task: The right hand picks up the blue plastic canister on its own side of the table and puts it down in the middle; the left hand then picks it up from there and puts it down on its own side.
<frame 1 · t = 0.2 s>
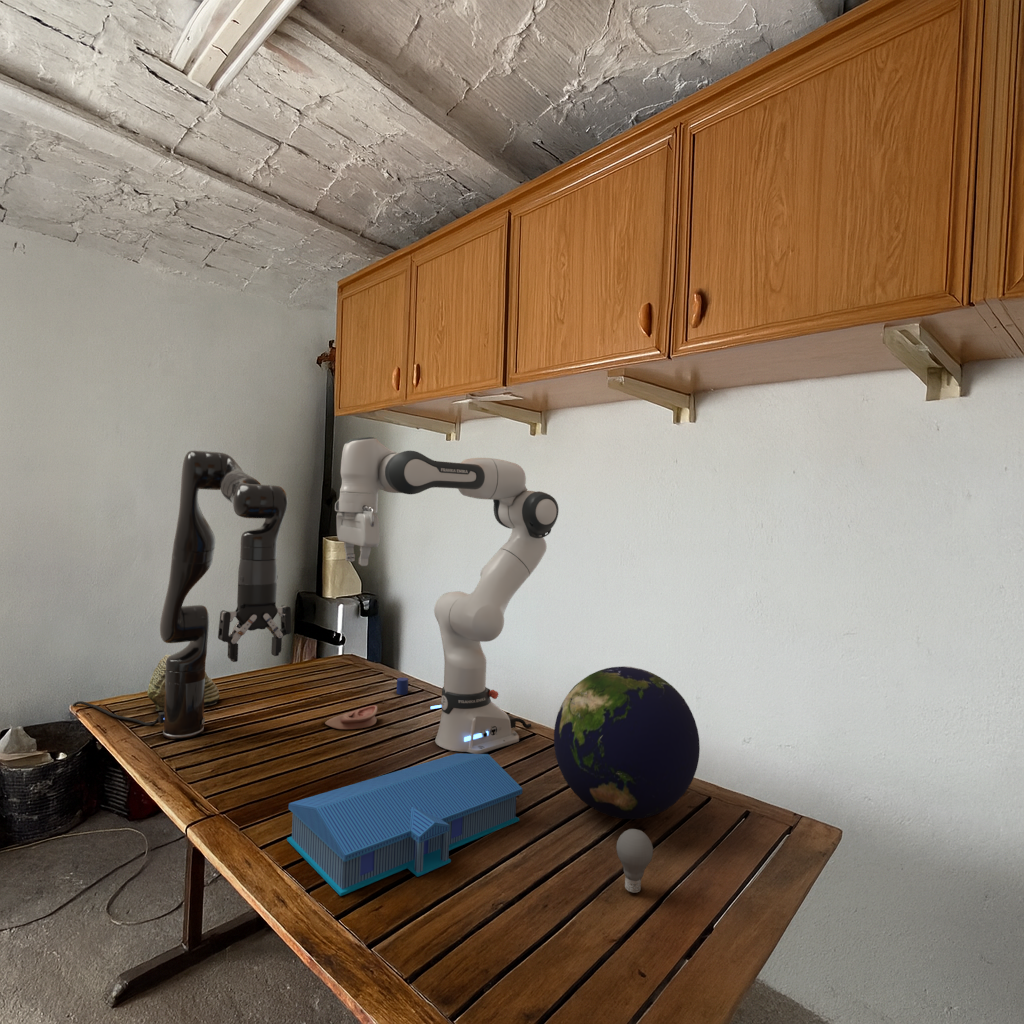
left hand: (254, 658, 132), 29 cm above the table, tool pointing down, fingers open, 8 cm apart
right hand: (356, 563, 150), 48 cm above the table, tool pointing down, fingers open, 8 cm apart
light bulb: (632, 891, 106), on the table
model building: (412, 834, 121), on the table
globe: (621, 811, 133), on the table
anatomical model: (351, 723, 177), on the table
fossil: (183, 706, 185), on the table
canister: (402, 693, 206), on the table
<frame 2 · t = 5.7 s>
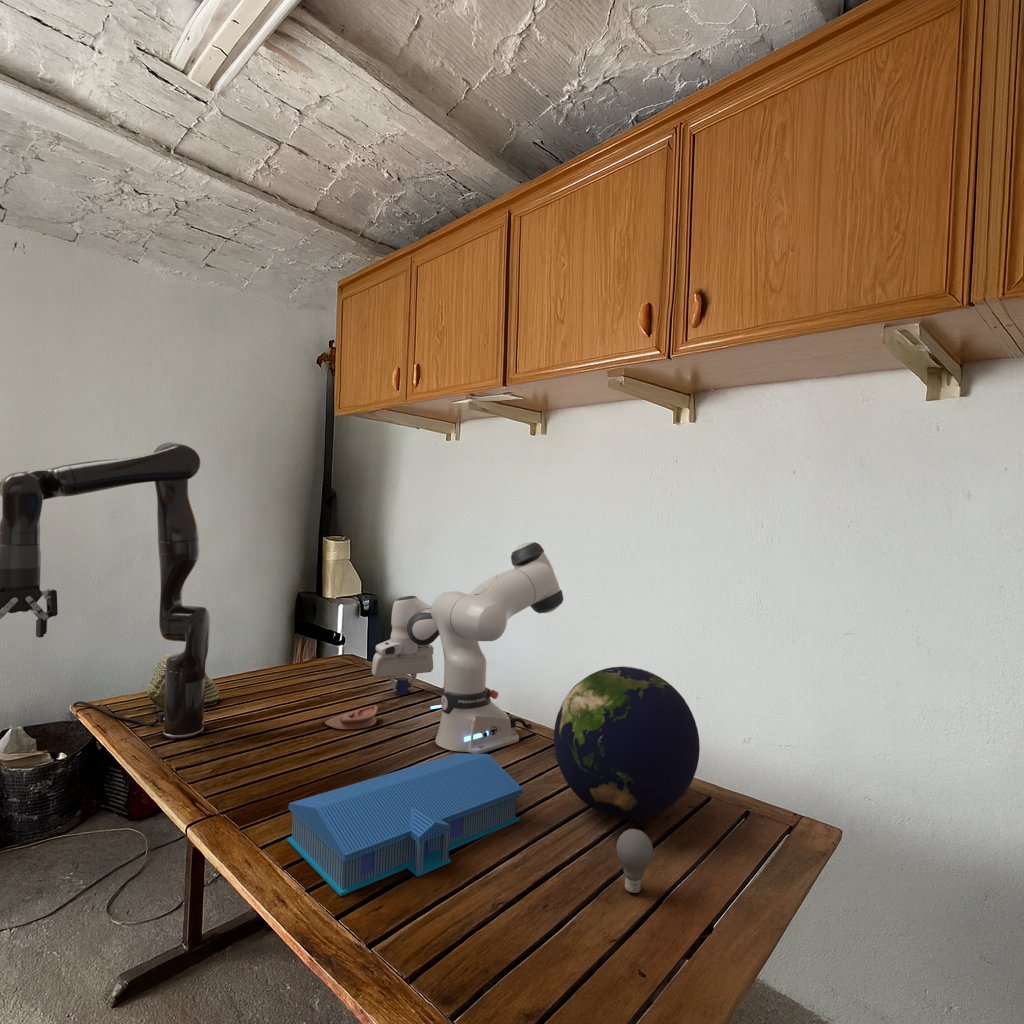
left hand: (16, 639, 137), 30 cm above the table, tool pointing down, fingers open, 8 cm apart
right hand: (402, 687, 206), 2 cm above the table, tool pointing down, fingers closed on canister, 4 cm apart
canister: (402, 693, 206), on the table, touching right hand
everything else where it was.
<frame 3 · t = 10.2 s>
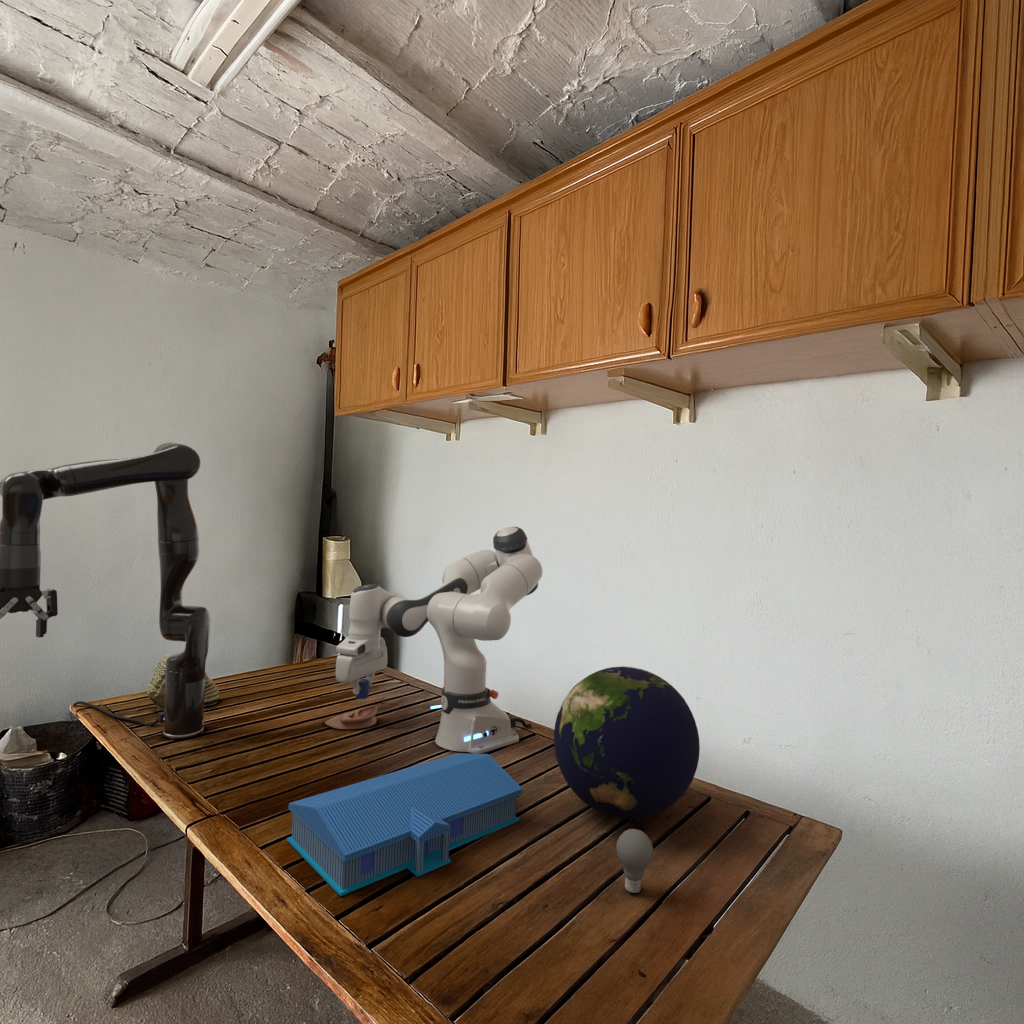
left hand: (16, 639, 137), 30 cm above the table, tool pointing down, fingers open, 8 cm apart
right hand: (362, 691, 179), 9 cm above the table, tool pointing down, fingers closed on canister, 4 cm apart
canister: (361, 697, 179), point 7 cm above the table, touching right hand
everything else where it was.
when the right hand's fingers open (3 cm above the table, at t = 15.1 s): canister stays where it is, on the table.
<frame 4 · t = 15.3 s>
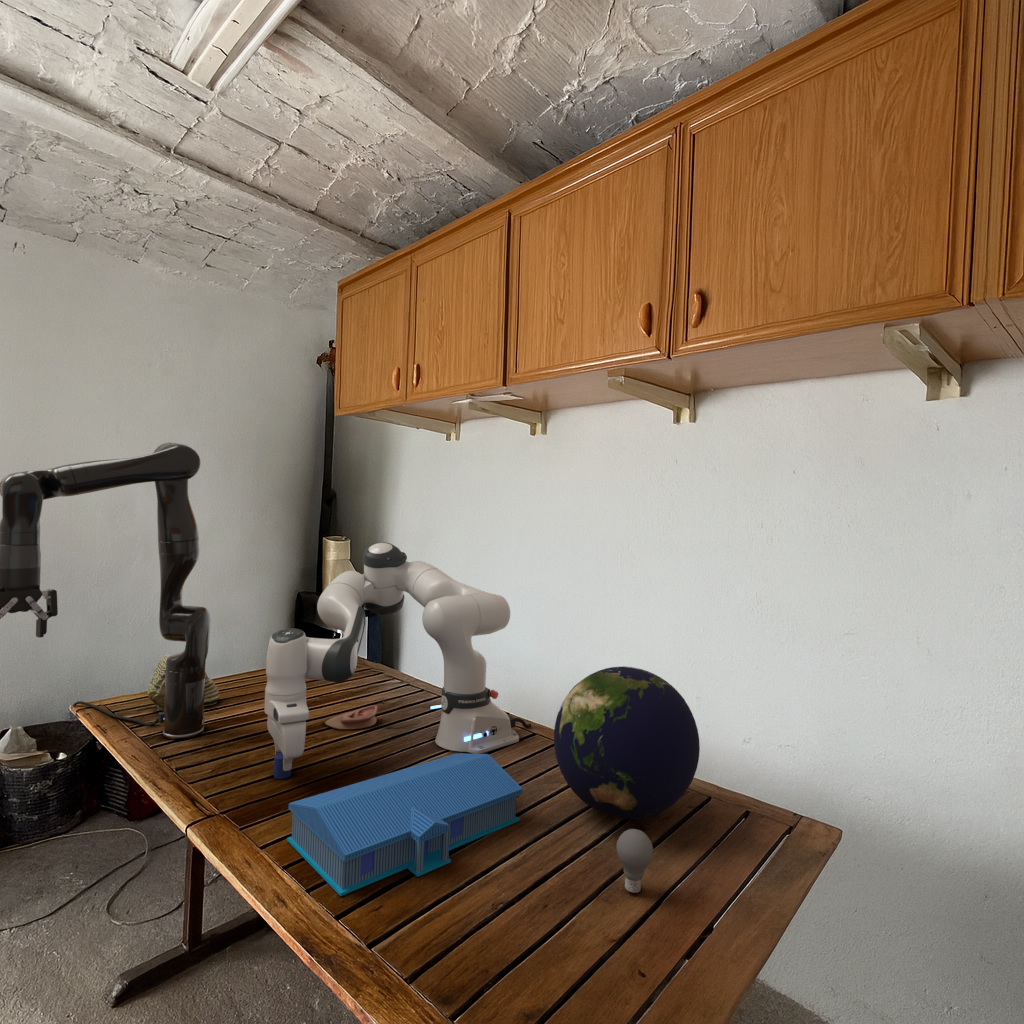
left hand: (16, 639, 137), 30 cm above the table, tool pointing down, fingers open, 8 cm apart
right hand: (283, 763, 143), 3 cm above the table, tool pointing down, fingers open, 5 cm apart
canister: (282, 775, 143), on the table
everything else where it was.
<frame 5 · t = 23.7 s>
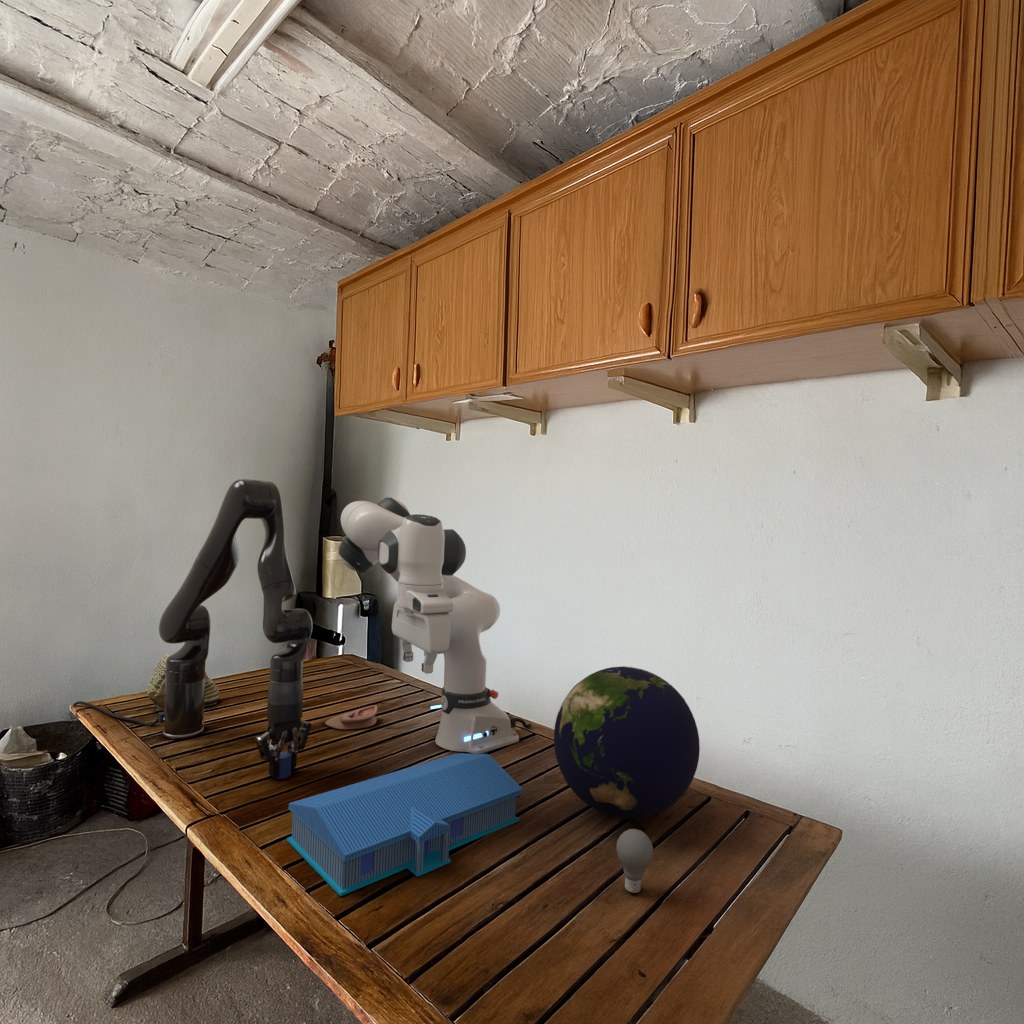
left hand: (282, 773, 143), 1 cm above the table, tool pointing down, fingers closed on canister, 3 cm apart
right hand: (417, 666, 126), 31 cm above the table, tool pointing down, fingers open, 8 cm apart
canister: (282, 775, 143), on the table, touching left hand
everything else where it was.
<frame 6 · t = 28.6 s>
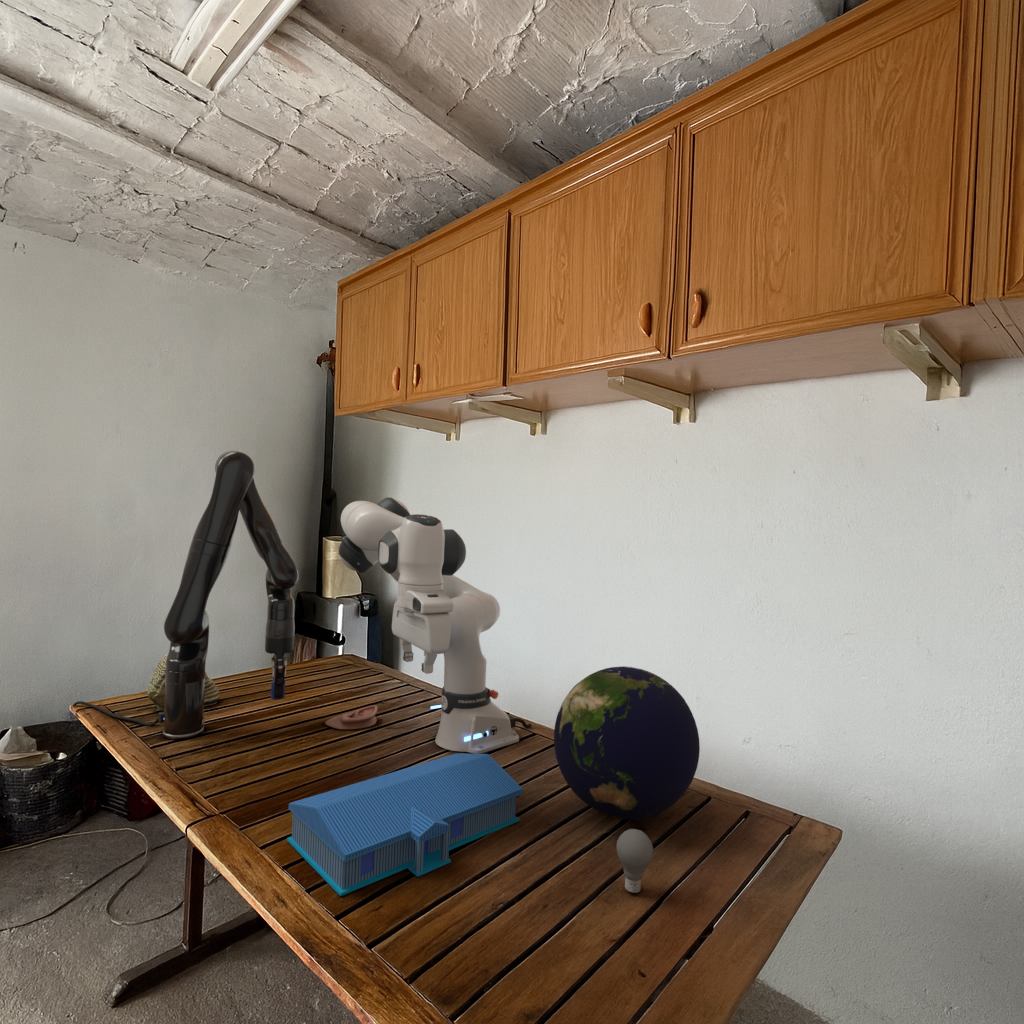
left hand: (277, 695, 175), 8 cm above the table, tool pointing down, fingers closed on canister, 3 cm apart
right hand: (417, 666, 126), 31 cm above the table, tool pointing down, fingers open, 8 cm apart
canister: (277, 697, 175), point 7 cm above the table, touching left hand
everything else where it was.
when the left hand's fingers open (1 cm above the table, at t = 33.5 s): canister stays where it is, on the table.
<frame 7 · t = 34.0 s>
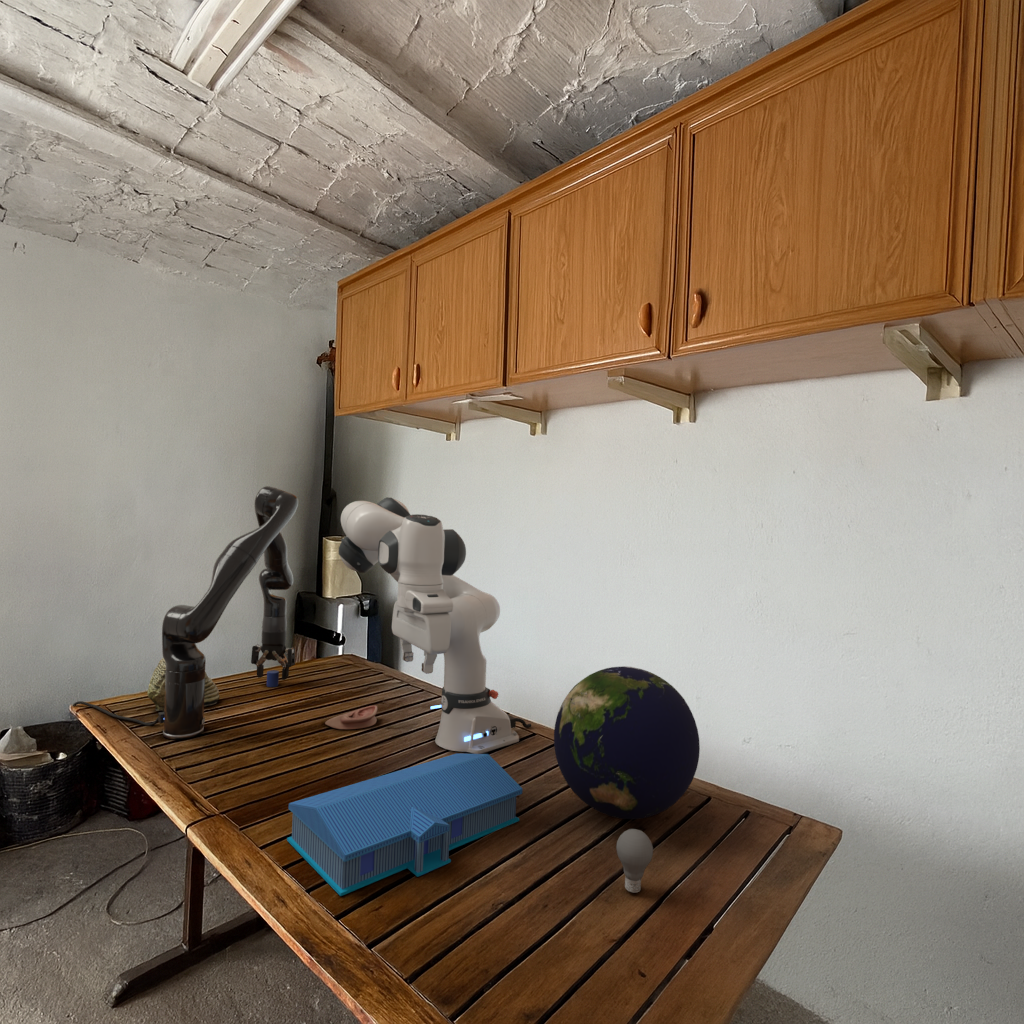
left hand: (272, 678, 208), 2 cm above the table, tool pointing down, fingers open, 8 cm apart
right hand: (417, 666, 126), 31 cm above the table, tool pointing down, fingers open, 8 cm apart
canister: (272, 685, 208), on the table
everything else where it was.
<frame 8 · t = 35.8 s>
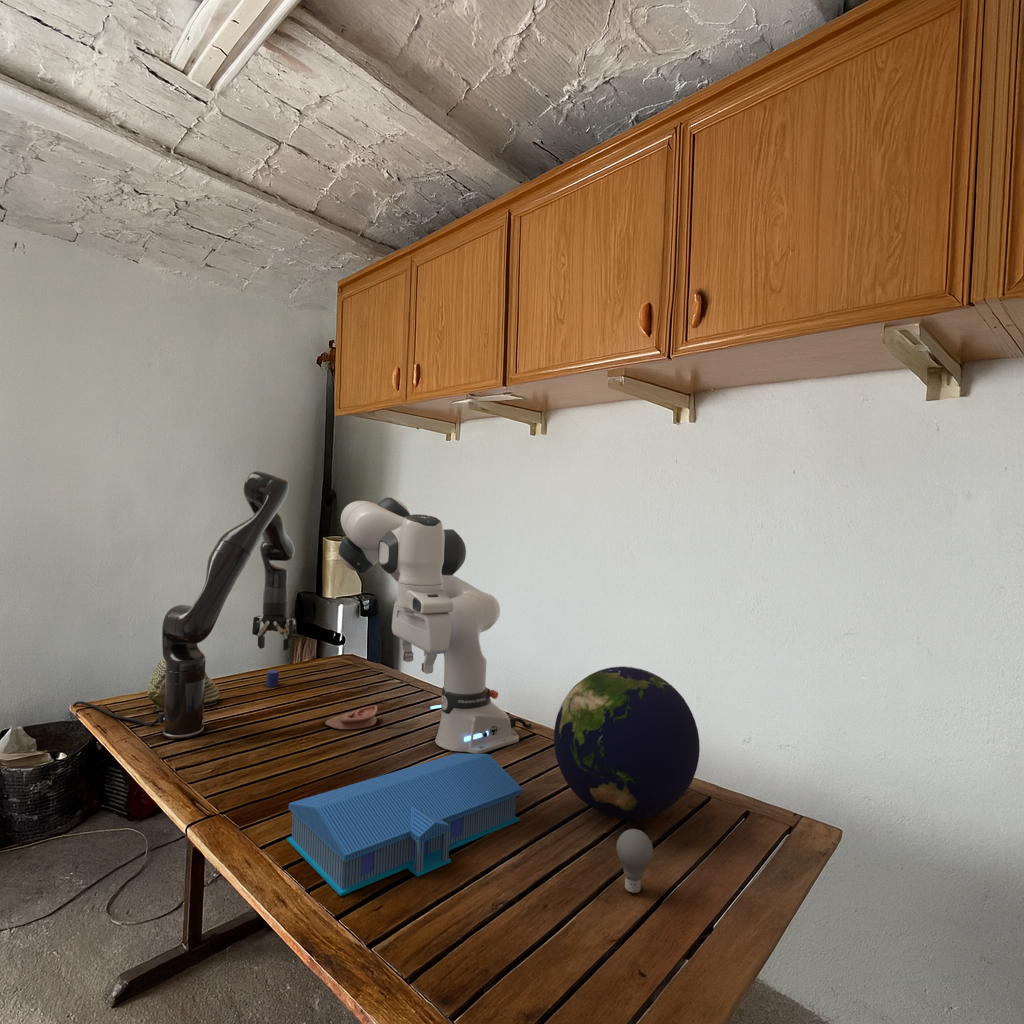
left hand: (273, 649, 208), 12 cm above the table, tool pointing down, fingers open, 8 cm apart
right hand: (417, 666, 126), 31 cm above the table, tool pointing down, fingers open, 8 cm apart
nothing on the table moved.
at the end: canister inside the target area (0.1 cm from its centre), on the table; canister tilted 0°; the two hands never held the canister at the same time; the left hand is holding nothing; the right hand is holding nothing; canister at rest at the end (0.0 cm/s) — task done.
